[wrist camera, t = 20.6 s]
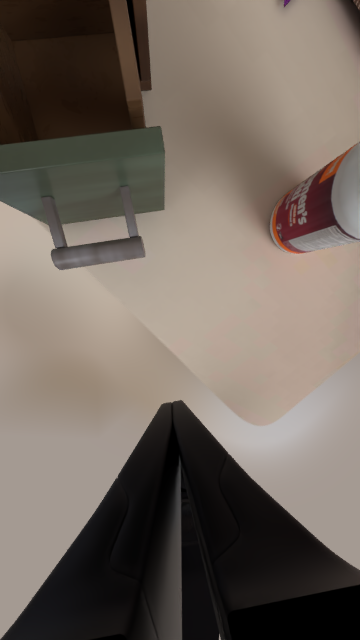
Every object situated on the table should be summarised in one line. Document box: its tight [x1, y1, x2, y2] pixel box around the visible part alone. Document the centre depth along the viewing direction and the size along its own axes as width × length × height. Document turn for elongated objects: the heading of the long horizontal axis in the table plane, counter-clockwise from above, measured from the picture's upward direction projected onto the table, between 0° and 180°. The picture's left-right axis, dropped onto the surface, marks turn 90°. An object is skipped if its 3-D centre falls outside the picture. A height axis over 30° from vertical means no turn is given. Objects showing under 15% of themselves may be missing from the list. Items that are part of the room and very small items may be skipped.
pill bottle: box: [270, 142, 360, 254], centre depth 14 cm, size 6×6×11 cm
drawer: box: [0, 0, 165, 270], centre depth 12 cm, size 17×10×8 cm, turn 9°
